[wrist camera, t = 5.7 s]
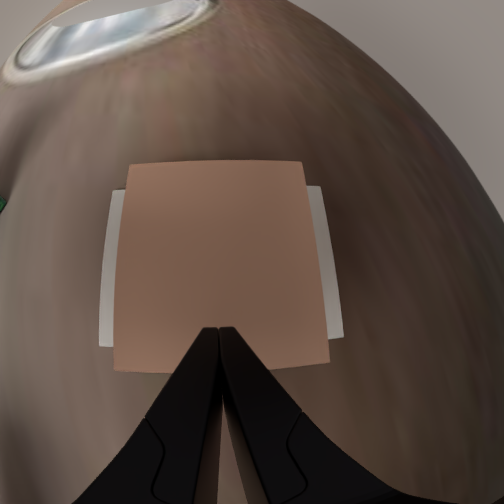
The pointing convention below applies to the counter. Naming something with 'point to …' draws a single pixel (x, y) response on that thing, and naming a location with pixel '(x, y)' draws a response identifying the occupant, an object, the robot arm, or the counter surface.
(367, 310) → the counter surface
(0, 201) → the coffee box
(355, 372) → the counter surface
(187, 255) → the tan and teal block
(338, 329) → the mat
